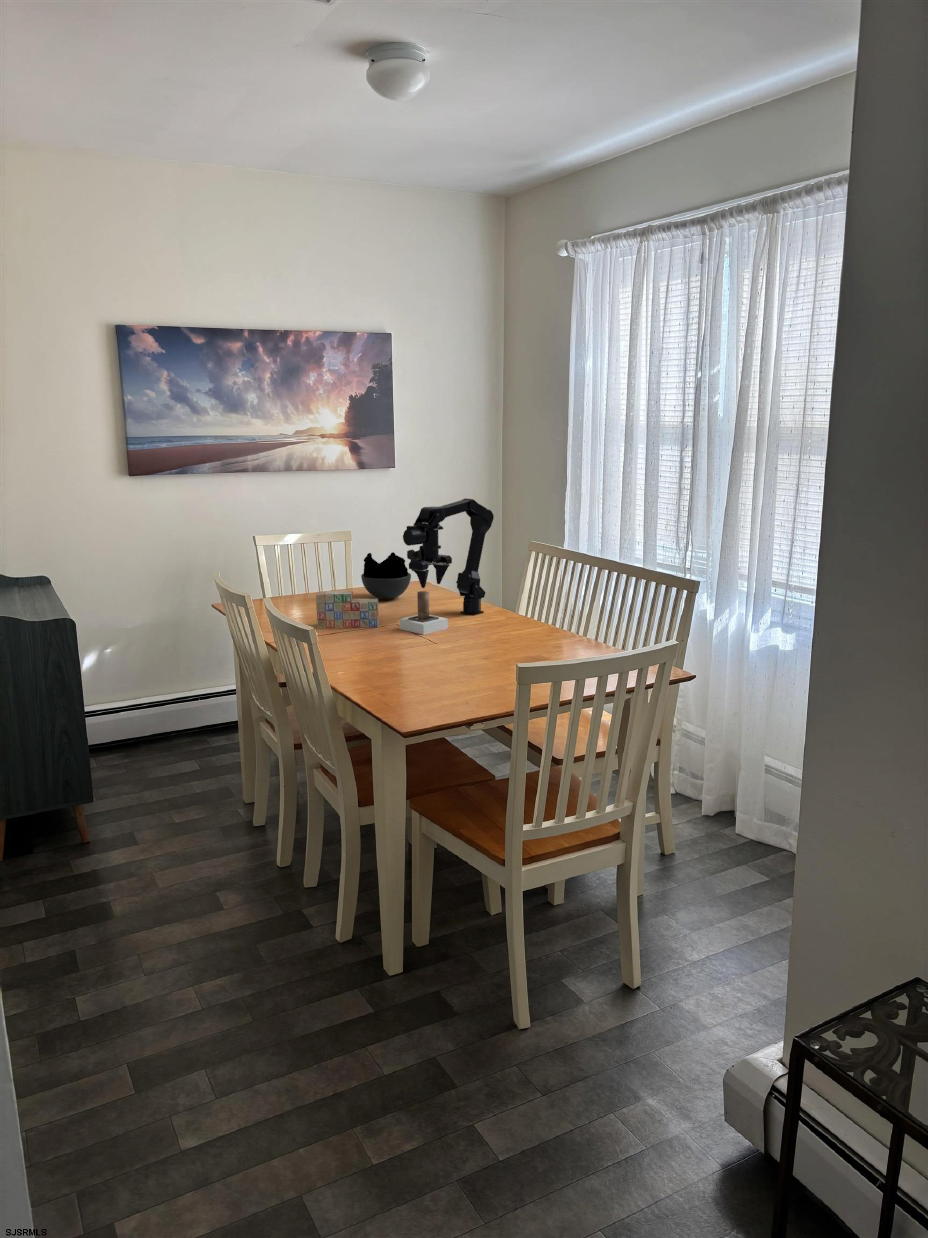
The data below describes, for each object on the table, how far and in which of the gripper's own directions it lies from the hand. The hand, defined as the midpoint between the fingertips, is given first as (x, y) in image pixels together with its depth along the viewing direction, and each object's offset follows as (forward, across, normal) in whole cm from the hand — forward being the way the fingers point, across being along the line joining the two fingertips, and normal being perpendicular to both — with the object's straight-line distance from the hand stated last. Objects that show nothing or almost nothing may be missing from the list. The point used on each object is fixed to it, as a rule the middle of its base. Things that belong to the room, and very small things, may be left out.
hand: (430, 586), depth 323 cm
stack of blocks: (+13, +22, -21) cm, 33 cm away
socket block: (+13, +11, +4) cm, 17 cm away
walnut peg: (+13, +11, +4) cm, 17 cm away
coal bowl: (+13, -22, -38) cm, 46 cm away
